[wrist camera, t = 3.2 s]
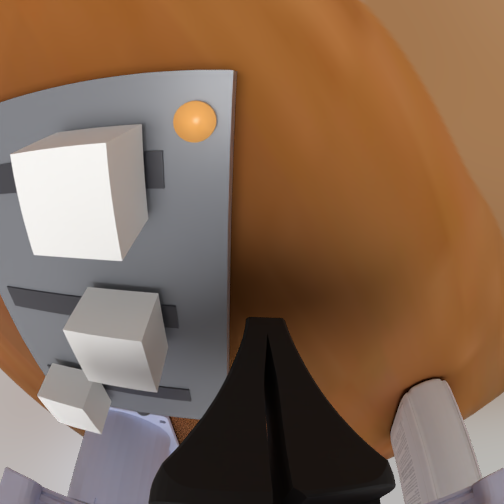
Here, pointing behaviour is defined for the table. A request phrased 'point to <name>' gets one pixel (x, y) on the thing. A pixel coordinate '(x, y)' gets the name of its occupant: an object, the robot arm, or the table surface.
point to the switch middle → (119, 338)
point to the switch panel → (150, 237)
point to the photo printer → (432, 444)
